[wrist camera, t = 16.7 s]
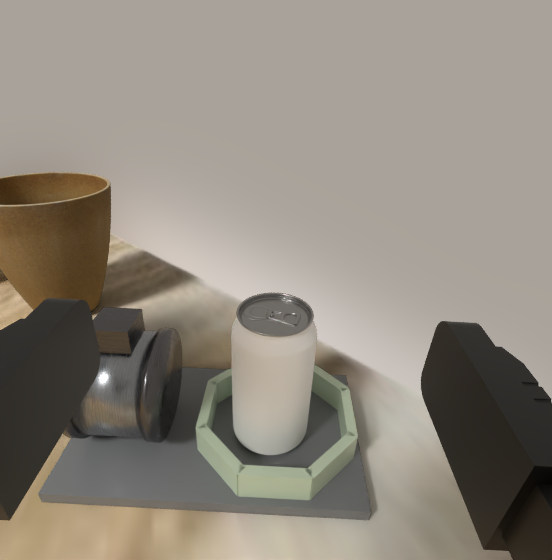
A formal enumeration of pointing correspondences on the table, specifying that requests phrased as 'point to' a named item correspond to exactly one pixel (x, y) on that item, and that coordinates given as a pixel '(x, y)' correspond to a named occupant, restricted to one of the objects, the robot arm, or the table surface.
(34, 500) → the table surface
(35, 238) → the plant pot
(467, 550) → the table surface
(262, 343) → the can
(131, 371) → the cylinder
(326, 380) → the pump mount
